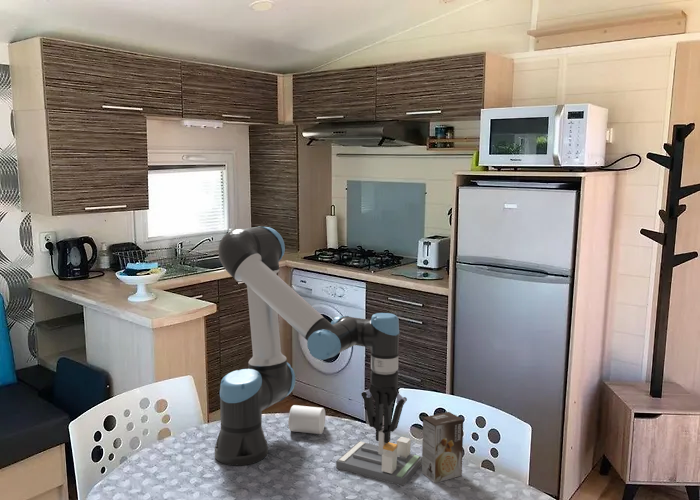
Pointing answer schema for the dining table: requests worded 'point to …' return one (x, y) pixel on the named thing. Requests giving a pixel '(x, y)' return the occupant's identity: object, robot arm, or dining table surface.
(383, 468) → the block
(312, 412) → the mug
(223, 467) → the dining table surface
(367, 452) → the panel
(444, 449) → the brown tall rectangular box
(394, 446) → the block
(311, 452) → the dining table surface
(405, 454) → the block
